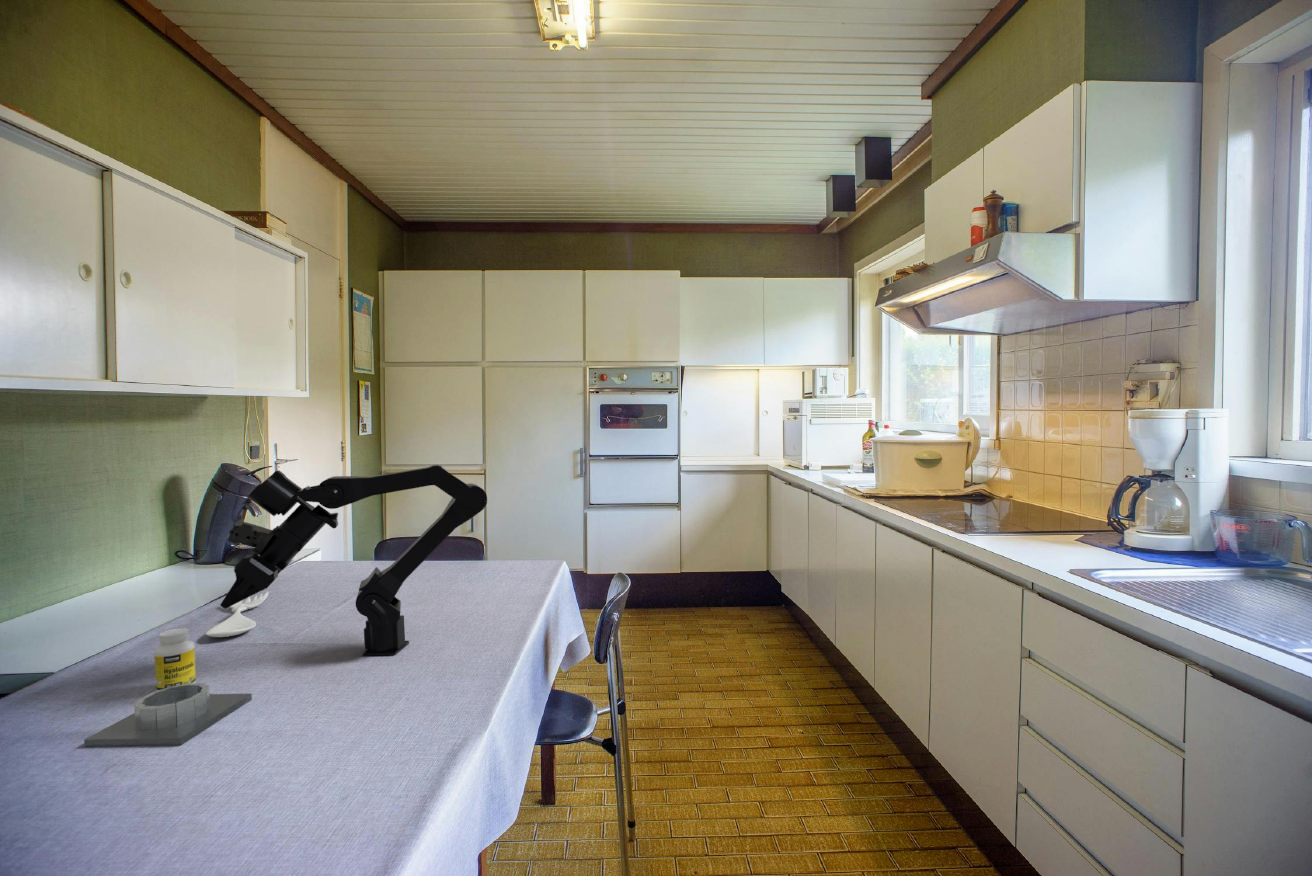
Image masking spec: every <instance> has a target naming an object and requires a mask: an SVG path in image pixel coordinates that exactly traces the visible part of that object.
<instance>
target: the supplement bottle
mask: <svg viewBox="0 0 1312 876" xmlns="http://www.w3.org/2000/svg"><path fill="white" fill-rule="evenodd" d="M189 637H190V630H189V628H187V627H186V628H185V627H182V628H180V627H179V628H174V629H173V628H172V629H169V630H166V631H162V632H160V633H159V635H158V641H159V644H161V645H159V646H157V647H156V649H155V650H154V668H155V669H154V671H155V673H154V674H155V691H158V690H161V689H165V688H168V687H171V686H177V685H182V684H187V683H188V684H189V683H197V682H196V679H197V678H196V675H197V674H196V673H197V672H196V655H195V652H196V651H195V649H196V648H195V643H194V642H193V641H192V640H188V639H189Z"/></svg>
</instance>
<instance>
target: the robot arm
mask: <svg viewBox="0 0 1312 876" xmlns="http://www.w3.org/2000/svg"><path fill="white" fill-rule="evenodd" d="M429 486H434V487H437V488H439V489H440V490H441V491H442V492H444V493H445V494H447V495H448V496H450V497H451V499H450V501H449V502H448V504H447V506H445V508H444V510H443V511H442V513H441V515H439V517H438V518H437V519H435V521H434V522H433V523H432V524H430V526H428V528H426V530H425V531H423V533H422V534H420V535H419V536H418V537H417V539H415V541H414V542H413V543H412V544H411V545H410V546H409V547H408V548H407V549H406V550H405V551H404V552H403V553H401V555H399V557H398V558H397V559H396V560H395V561H394V562H393V563H392V564H391V565H389V566H388V567H387V568H385V569H383V570H380V569H379V568H378V567H377V566H376V567H375V568H374V569H373V570H372V572H371V573H370V575H369V576H368V577H366V578H365V579H363V580H361V581H360V584H359V587H358V591H357V595H356V598H355V608H356V611H357V612H358V613H359V614H360V615H362V616H364V617H366V618H367V620H365V627H364V628H363V643H364V649H365V650H364V651H362V656H393V655H396V654H398V653H400V651H401V650H403V649H404V648H405V647H406V646H407V645H409V644H410V640H406V633H405V630H406V629H405V615H403V614H402V615H401V608H402V607H401V605H402V604H401V603H402V601H401V600H400V599H398V597H396V596H397V593H398V592H399V590H400V589H401V587H402V585H403V583H404V582H405V581H406V579H407V578H409V577H410V576H411V575H412V573H413V572H415V571H416V570H417V569H418V567H420V566H421V564H422V563H423V562H424V561H425V560H426V559H428V557H429V556H430V555H431V554H432V553H433V552H434V551H435V550H436V549H437V548H438V547H439V546H440V545H441V544H442V543H443V542H444V540H446V539H447V538H448V537H449V536H450V535H451V534H452V533H453V532H454V530H456V529H457V528H458V527H460V526H461V525H463V524H465V523H467V522H468V521H469V520H471V519H472V518H474V517H476V516H477V515H478V514H479V513H481V512H482V511H483V510H484V509H485V508H486V506H487V504H488V496H487V493H486V491H485V490H484V489H483V488H482V487H481V486H479V485H478V484H475V483H465V482H464V481H462V480H461V479H459V478H458V477H456V476H455V475H454V474H452V473H450V472H449V471H447V470H446V468H444V467H443V465H439V464H432V465H429V466H428V467H427V466H425V467H419V468H413V469H409V470H402V471H395V472H391V473H384V474H378V475H373V476H372V475H371V476H362V475H361V476H359V475H357V476H354V475H351V476H348V475H346V476H345V475H344V476H342V475H340V476H338V475H335V476H331V477H328V478H326V479H324V480H322V481H321V482H320V483H319V484H318V485H313V486H312V485H311V486H310V485H307V486H305V487H303V488H301V487H300V486H299V485H297V484H296V483H295V482H294V481H292V480H291V479H290V478H288V477H287V476H286V475H285V474H284V473H283V472H282V471H280V470H275V471H274V472H273V473H272V474H271V475H270V476H269V477H267V478H266V479H265V480H264V481H263V482H261V483H259V484H257V485H256V486H255V488H254V489H252V491H251V492H250V493H249V494H248V495H247V497H246V498H247V499H249V500H250V501H251V502H253V503H254V504H256V505H257V506H259V507H260V508H262V509H263V510H264V511H265V512H267V513H269V514H270V515H271V516H273V517H276V515H278V516H280V515H282V516H283V517H284V516H285V515H287V513H289V512H290V510H292V509H293V508H294V507H295V506H296V504H299V505H298V506H297V507H296V508H295V509H294V510H293V511H292V512H291V513H290V514H289V515H288V517H286V519H284V520H283V522H282V523H281V524H279V525H277V526H276V527H274V528H272V529H269V528H266V527H264V526H260V525H256V524H253V523H249V522H246V521H241V520H239V521H236V522H234V524H233V525H232V528H231V530H229V534H228V537H227V538H226V541H227V542H229V543H233V544H236V543H237V544H241V545H245V546H248V547H252V548H253V549H252V550H251V551H252V552H253V553H251V554H246V556H244V557H243V558H242V559H240V561H239V562H237V564H236V565H234V568H233V572H234V573H235V581H234V583H233V584H232V586H231V587H230V589H229V590H228V592H227V593H226V595H225V597H224V598H223V600H222V602H220V607H222V608H223V609H225V610H226V609H228V608H231V607H230V606H232V605H234V604H236V603H238V602H240V601H242V602H243V601H244V600H246V599H247V598H248V597H250V598H251V597H252V596H253V595H257V594H258V593H259V592H262V591H265V590H266V589H268V587H269V586H270V585H272V584H273V583H274V581H276V579H277V578H278V577H279V575H280V573H282V571H284V570H285V568H286V567H287V566H288V565H289V564H290V563H291V562H292V560H293V559H294V558H295V557H296V556H297V555H298V554H299V553H300V552H301V550H303V548H304V547H305V546H306V545H307V544H308V543H309V542H310V541H311V540H312V539H313V538H314V537H315V535H317V534H318V532H320V531H321V529H322V528H323V527H324V526H325V525H328V526H329V527H330V528H332V529H337V527H338V526H339V521H338V518H339V517H338V516H339V512H329V511H328V510H327V509H329V510H330V509H331V510H333V509H339V508H341V507H345V506H347V505H351V504H353V503H356V502H359V501H361V500H365V499H367V498H370V497H373V496H378V495H382V494H383V495H384V494H388V493H389V494H390V493H395V492H396V493H397V492H401V491H406V490H413V489H417V488H423V487H429ZM311 503H318V504H317V505H316V506H314V505H312V504H311ZM325 508H326V509H325Z"/></svg>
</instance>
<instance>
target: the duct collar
mask: <svg viewBox="0 0 1312 876" xmlns="http://www.w3.org/2000/svg"><path fill="white" fill-rule="evenodd" d="M252 697H253V695H252V693H211V694H210V686H209V685H208V684H206V683H204V682H195V683H189V684H188V683H187V684H182V685H177V686H171V687H168V688H165V689H161V690H158V691H156V690H155V691H152V692H150V693H148V694H147V695H144V696H143V697H141V698H139V699H137V701H136V702H135V703H134V705H133V706H134V712H133V713H132V714H130V715H128V716H126V717H124V718H122V719H120V720H119V721H117V722H115V723H112V724H111V725H109V726H107V727H106V728H104V729H102V730H100V731H98V732H96V733H94V734H92V735H91V736H89V737H87V738H85V739H84V743H83V744H84V747H86V748H89V747H148V746H149V747H153V746H154V747H155V746H157V747H159V746H161V747H162V746H163V747H164V746H165V747H166V746H182V745H183V744H185V743H187V742H188V741H190V740H192V739H193V738H195V737H197V736H198V735H199V734H202V732H204V731H205V730H207V729H208V728H210V727H212V726H213V725H215V724H216V723H218V722H219V721H221V720H223V719H224V718H226V717H227V716H228V715H231V714H232V713H233V712H235V711H236V710H238V709H240V708H241V707H243V706H244V705H245V704H247V703H248V702H251V701H252V700H253V699H252Z"/></svg>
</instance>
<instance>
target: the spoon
mask: <svg viewBox="0 0 1312 876" xmlns="http://www.w3.org/2000/svg"><path fill="white" fill-rule="evenodd" d="M268 596H269V591H268V590H267V591H266V592H265V594H264V595H263V593H260V595H259V596H258V595H257V594H255V596H254V599H253V600H252V601H251V599H252V598H251V596H250V597H248V598H246V599H245V601H243V600H242V601H240V602H238V603H236V604H234V605H232V606H230V607H229V608H231V612H232V613H233V614H232V615H231V616H230V617H228V618H227V619H224V620H223V621H221V622H219V623H218V624H216V625H215V626H212V627H211V628H210V629H209V630H207V631H206V632H205V633H204V635H206V636H208V637H211V638H212V637H213V638H230V636H231V637H234V636H238V635H241V634H243V633H246V632H248V631H250V630H252V629H253V628H254V627H256V626H257V622H256V621H255V620H253V619H251V618H249V617H247V616H244V615H243V614H241V612H244V611H248V609H249V610H252V609H254V608H256V607H258V606H260V605H261V604H262V603H263V602H264V601H265V599H267V597H268Z"/></svg>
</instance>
